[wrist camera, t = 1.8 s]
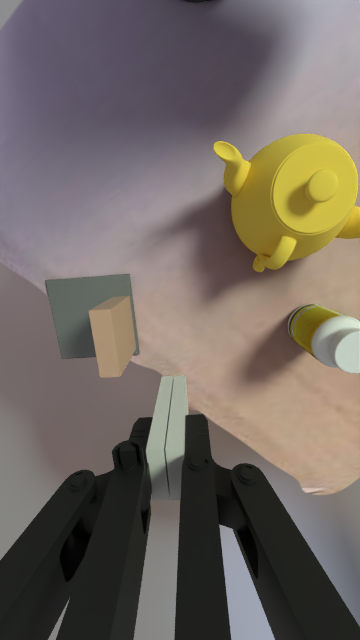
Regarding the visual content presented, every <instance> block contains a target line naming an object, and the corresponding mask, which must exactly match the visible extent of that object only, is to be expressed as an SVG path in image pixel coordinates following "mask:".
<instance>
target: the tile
mask: <svg viewBox="0 0 360 640" xmlns="http://www.w3.org/2000/svg"><path fill="white" fill-rule="evenodd" d="M89 318H90V323H91V329H92V335H93V341H94V346H95V352H96V358H97V363H98V368H99V374H100V378H105V377H120V376H121V375H122V373H123V371H124V369H125V367H126V366H127V364H128V362H129V360H130V359H131V357H132V355H133V353H134V352H135V350H136V342H135V334H134V327H133V319H132V311H131V304H130V296H118V297H112V298H110V299H108V300H106V301H105V302H103V303H101V304H99V305H98V306H96V307H94V308H92V309H91V310H89Z"/></svg>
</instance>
